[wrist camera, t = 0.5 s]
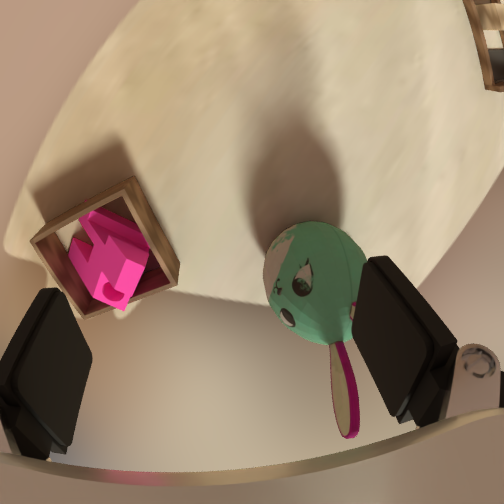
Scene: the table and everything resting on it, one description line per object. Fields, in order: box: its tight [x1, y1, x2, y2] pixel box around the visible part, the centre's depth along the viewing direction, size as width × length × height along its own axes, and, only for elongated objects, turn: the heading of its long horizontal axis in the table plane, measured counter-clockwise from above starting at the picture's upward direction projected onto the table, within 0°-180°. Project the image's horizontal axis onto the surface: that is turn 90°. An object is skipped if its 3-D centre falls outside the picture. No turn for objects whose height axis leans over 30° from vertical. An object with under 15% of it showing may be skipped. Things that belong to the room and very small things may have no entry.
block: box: [475, 3, 504, 30], centre depth 30 cm, size 5×5×6 cm
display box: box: [30, 176, 180, 320], centre depth 44 cm, size 15×17×6 cm
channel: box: [463, 0, 504, 92], centre depth 32 cm, size 26×10×4 cm, turn 20°
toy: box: [263, 221, 367, 439], centre depth 38 cm, size 15×17×30 cm
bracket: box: [68, 200, 150, 311], centre depth 42 cm, size 12×10×10 cm
